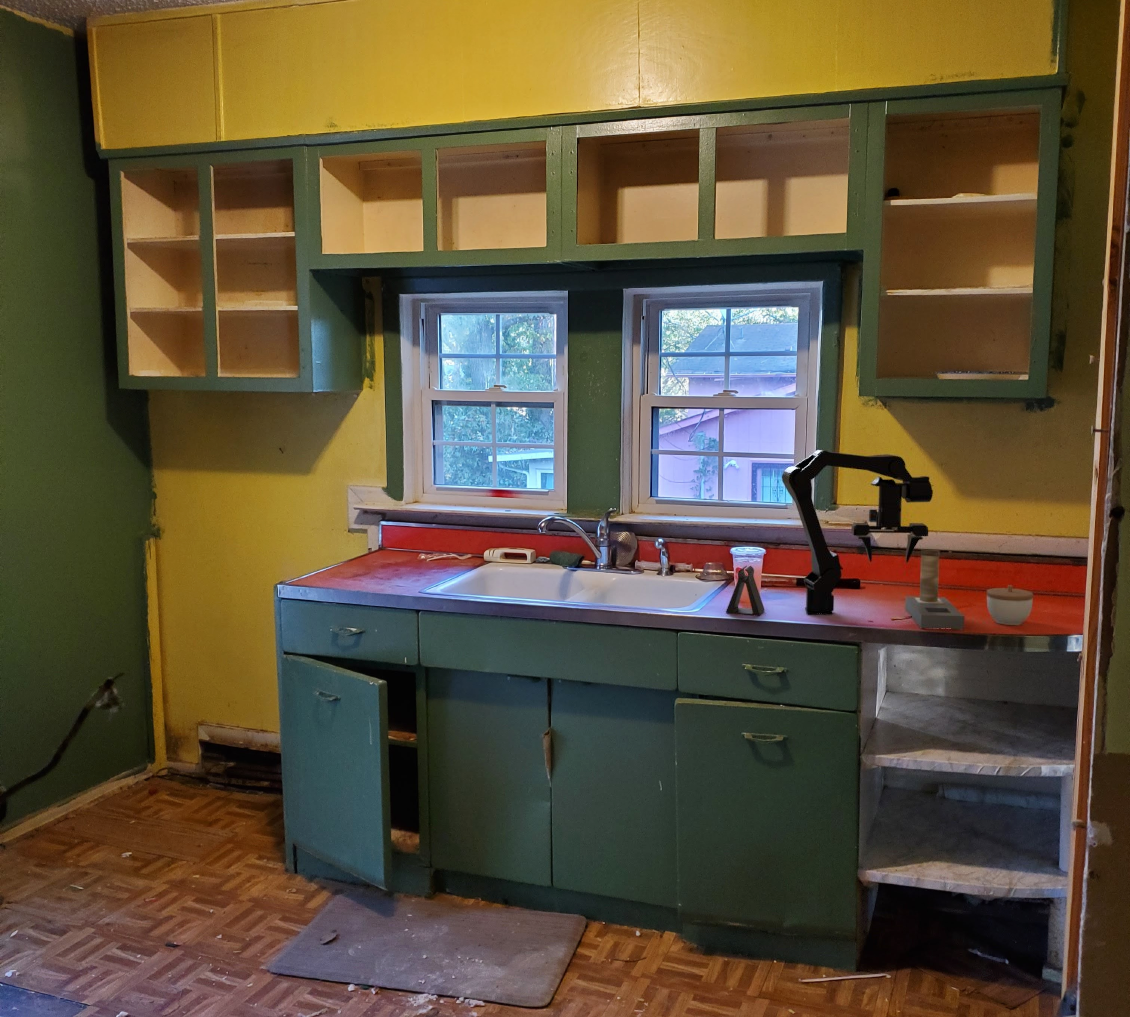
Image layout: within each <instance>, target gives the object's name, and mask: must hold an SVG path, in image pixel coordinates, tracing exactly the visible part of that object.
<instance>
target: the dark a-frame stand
mask: <svg viewBox="0 0 1130 1017" xmlns="http://www.w3.org/2000/svg"><path fill="white" fill-rule="evenodd" d="M745 572H746V573H747V574H746V573H745ZM754 574H755V569H754V567H753V566H752V565H750V566H748V565H745V566H743V567H742V568H740V570H738V571H737V582H736V585H735V587H734V590H733V592H732V595H731V597H730V600H729V603H728V604H727V607H726V610H725V613H726V614H728V615H729V614H731V615H732V614H733V615H741V614H742V615H743V614H744V616H754V615H755V616H757V617H759V616H760V615H762V614H763V613H764V612H765V610H766V609H765V606H764V603H763V601H762V598H761V595H760V592H759V589H758V586H757V583H756V580H755V577H754ZM745 585H746V590H747V594H748V598H749V603H750V607H751V608H748V607H747V608H745V607H743V608H742V607H739V606H740V605H739V604H740V602H741V597H742V594H743V591H744V587H745Z"/></svg>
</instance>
